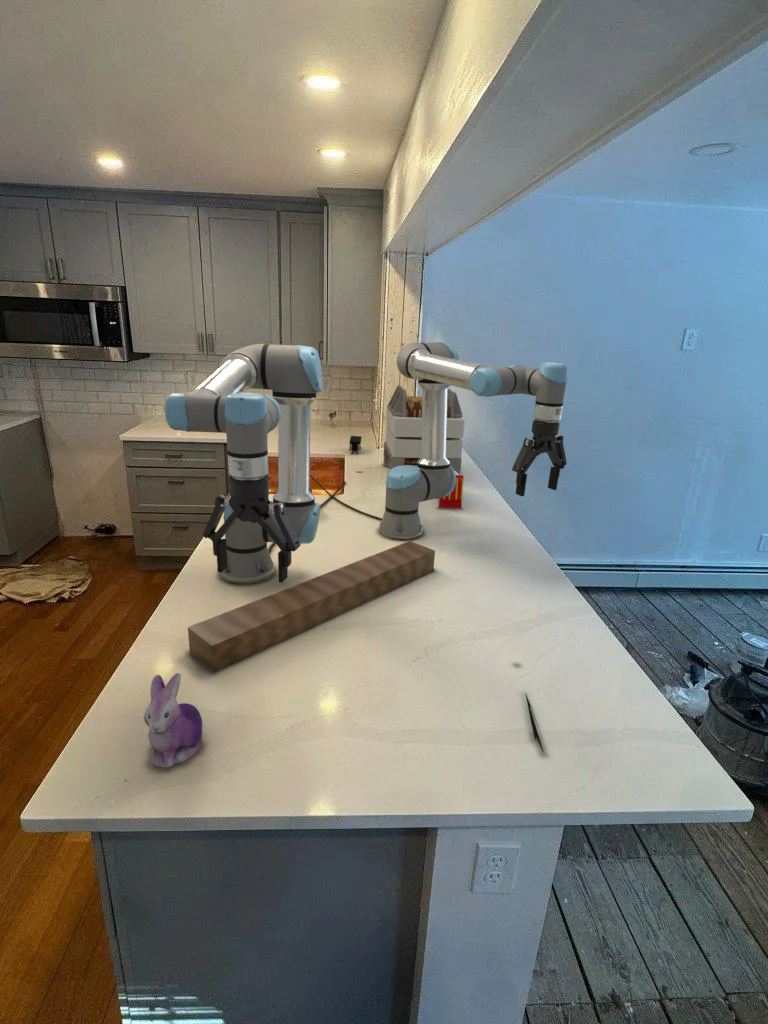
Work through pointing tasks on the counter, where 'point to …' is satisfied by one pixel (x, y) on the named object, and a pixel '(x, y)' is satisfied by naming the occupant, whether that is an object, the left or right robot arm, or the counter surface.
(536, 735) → the feather
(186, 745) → the figurine
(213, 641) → the wide beam
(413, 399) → the grey slatted crate
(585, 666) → the counter surface
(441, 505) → the toy
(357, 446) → the figurine character
